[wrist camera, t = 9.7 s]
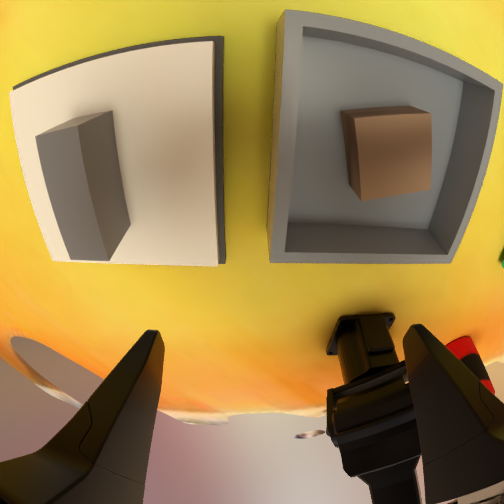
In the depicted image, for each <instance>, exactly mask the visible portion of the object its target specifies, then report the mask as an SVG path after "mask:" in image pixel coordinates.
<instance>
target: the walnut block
mask: <svg viewBox="0 0 504 504" xmlns="http://www.w3.org/2000/svg"><path fill="white" fill-rule="evenodd" d="M340 113H341V120H342V127H343V135H344V142H345V151H346V160H347V170H348V181H349V185H350V187H351V188H352V189H353V191H354V192H355V193H356V195H357V196H358V197H359V199H360V200H361V201H366V200H372V199H378V198H383V197H389V196H395V195H401V194H407V193H414V192H420V191H426V190H430V186H431V168H432V120H431V113H429V112H426V111H424V110H421V109H418V108H415V107H413V106H391V107H375V108H363V109H353V110H343V111H340Z"/></svg>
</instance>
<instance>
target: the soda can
mask: <svg viewBox="0 0 504 504" xmlns="http://www.w3.org/2000/svg"><path fill="white" fill-rule="evenodd" d="M446 347H447V348H448V349H449V350H450V351H451V352H452V353H453V354H454V355H455V356H456V357H457V358H458V359H459V360H460V361H461V362H462V363H463V364H464V365H465V366H466V367H467V368H468V369H469V370H470V371H471V372H472V373H473V374H474V375H475V376H476V377H477V378H478V379H479V381H481V382H482V383H483V384H484V385H485V386H486V387H487V388H488V389H489V390H490V391H491V392H492V393H493V394H495V390H494V388H493V385H492V383H491V381H490V378H489V376H488V373H487V371H486V369H485V366H484V364H483V362H482V360H481V358H480V355H479V353H478V351H477V349H476V347H475V345H474V343H473V341H472V339H471V338H469V337H461V338H459V339H456V340H454V341H453V342H451V343H449V344H448V345H446Z"/></svg>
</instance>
